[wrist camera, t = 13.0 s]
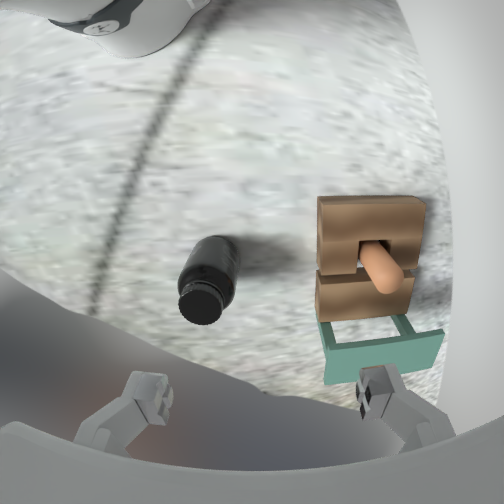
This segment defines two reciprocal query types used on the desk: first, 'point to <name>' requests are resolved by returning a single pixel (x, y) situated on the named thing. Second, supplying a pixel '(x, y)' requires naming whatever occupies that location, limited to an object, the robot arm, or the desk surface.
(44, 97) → the desk surface
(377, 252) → the peg
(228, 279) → the supplement bottle
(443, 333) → the teal u-shaped bracket
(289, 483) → the robot arm
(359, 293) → the socket block
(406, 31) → the desk surface
